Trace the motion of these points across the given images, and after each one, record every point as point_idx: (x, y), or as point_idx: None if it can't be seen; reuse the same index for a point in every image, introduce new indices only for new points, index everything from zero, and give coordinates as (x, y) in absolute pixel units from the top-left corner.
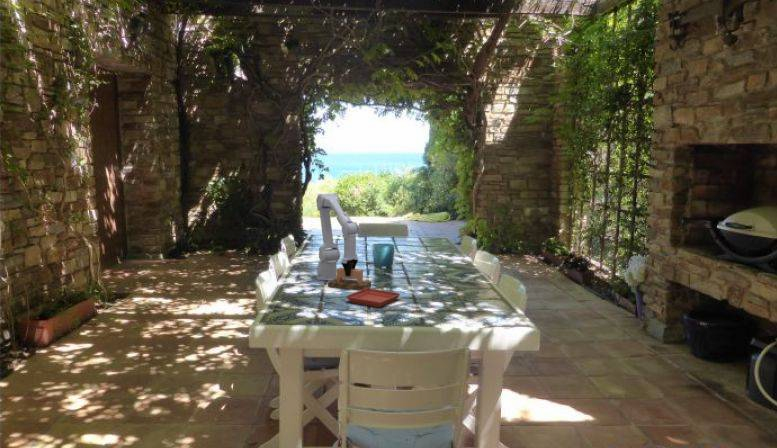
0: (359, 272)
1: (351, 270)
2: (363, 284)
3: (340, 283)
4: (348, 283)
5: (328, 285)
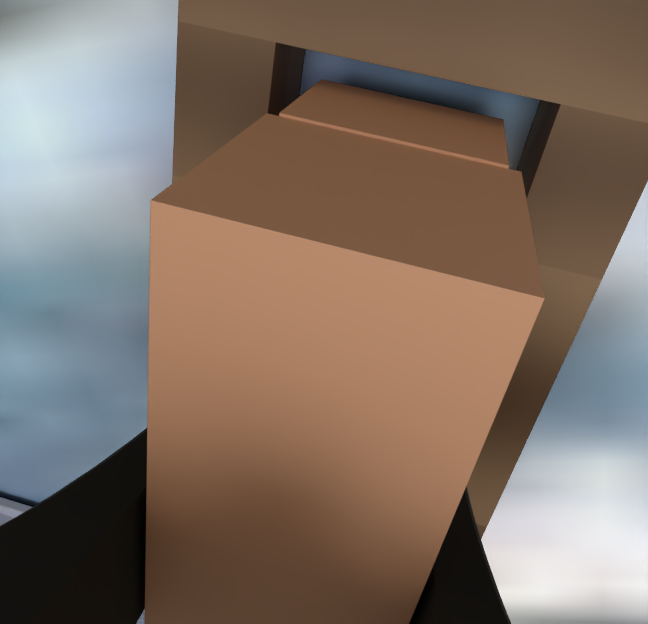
0: (532, 292)
1: (411, 576)
2: (553, 24)
3: (486, 506)
4: None
5: None
